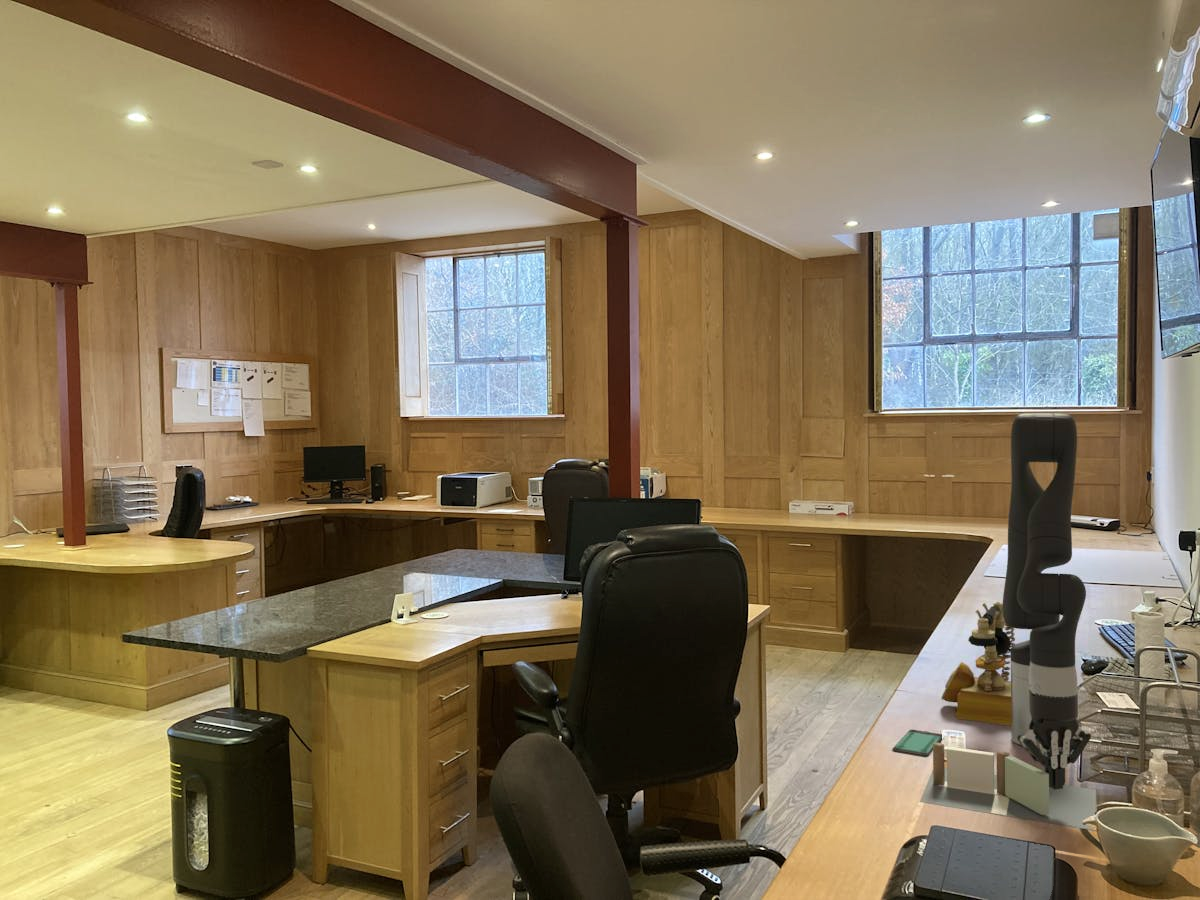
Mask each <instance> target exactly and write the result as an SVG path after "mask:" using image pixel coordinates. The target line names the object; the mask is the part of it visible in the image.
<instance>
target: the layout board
mask: <svg viewBox="0 0 1200 900" xmlns="http://www.w3.org/2000/svg"><path fill="white" fill-rule="evenodd" d="M919 802H920V803H924V804H925V803H926V804H931V805H937V806H943V807H949V808H955V809H962V810H967V811H973V812H980V813H985V814H991V815H998V816H1003V817H1004V816H1005V817H1009V818H1016V819H1021V820H1028V821H1033V822H1034V821H1035V822H1039V823H1047V824H1052V825H1057V826H1058V825H1059V826H1065V827H1070V828H1076V829H1082V830H1088V831H1095V830H1094V828H1093V827H1091V826H1089V825H1083V824H1082V822H1083V820H1085V819H1086V818H1088V817H1090V816H1093V815H1094V814H1095V812H1096V811H1097V812H1098V809H1097V807H1098V805H1097V789H1095V788H1089V787H1081V786H1074V785H1067V784H1064V785H1063V789H1055V790H1054V789H1053V788H1051V787H1049V814H1045V815H1041V814H1039V813H1037V812H1035V811H1034V810H1032V809H1030V808H1028V807H1026V806H1024V805H1023V804H1021V803H1019V802H1017V801H1015V800H1013V799H1012V798H1010V797H1008V796H1003V795H1000V794H998V793H997V774H994V793H990V792H983V791H977V790H971V789H964V788H958V787H951V786H947V766H945V784H944V785H935V784H934V783H933V770H931V773H930V776H929V778H928V780H927V783H926V785H925V788H924V790H923V793H922V794H921V798H920V799H919ZM1095 832H1096V831H1095Z"/></svg>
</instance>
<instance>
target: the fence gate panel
mask: <svg viewBox="0 0 1200 900" xmlns="http://www.w3.org/2000/svg"><path fill="white" fill-rule="evenodd" d="M1005 795H1006V796H1008V797H1010V798H1012V799H1013V800H1015V801H1017V802H1019V803H1021V804H1023V805H1024V806H1026V807H1028V808H1030V809H1032V810H1034V811H1035V812H1037V813H1039V814H1041V815H1045V814H1049V774H1048V773H1046V772H1045V770H1041V769H1040V768H1038V767H1035V766H1034V765H1031V764H1029V763H1027V762H1025V761H1023V760H1021V759H1019V758H1016V757H1015V756H1012V755H1010V756H1009V757H1005Z"/></svg>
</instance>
